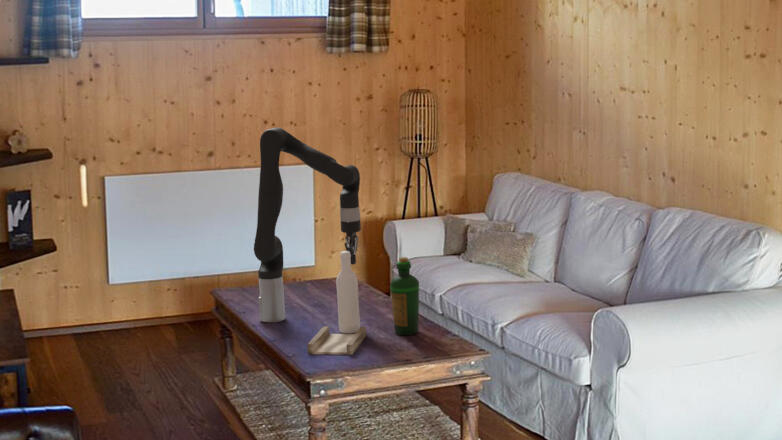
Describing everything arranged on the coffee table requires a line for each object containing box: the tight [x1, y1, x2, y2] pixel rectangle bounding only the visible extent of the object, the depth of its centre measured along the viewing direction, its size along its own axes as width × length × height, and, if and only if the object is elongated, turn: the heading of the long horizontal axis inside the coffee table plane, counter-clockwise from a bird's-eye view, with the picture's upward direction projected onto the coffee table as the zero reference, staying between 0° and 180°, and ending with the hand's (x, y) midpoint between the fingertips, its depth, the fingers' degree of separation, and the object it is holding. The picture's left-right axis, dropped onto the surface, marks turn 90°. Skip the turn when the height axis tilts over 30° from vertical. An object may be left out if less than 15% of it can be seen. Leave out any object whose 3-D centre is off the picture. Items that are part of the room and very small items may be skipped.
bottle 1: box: [335, 250, 361, 334], centre depth 401 cm, size 8×8×30 cm
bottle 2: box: [389, 256, 420, 336], centre depth 395 cm, size 11×11×28 cm
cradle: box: [307, 325, 368, 356], centre depth 386 cm, size 16×22×4 cm
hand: (352, 263), depth 410 cm, fingers closed
